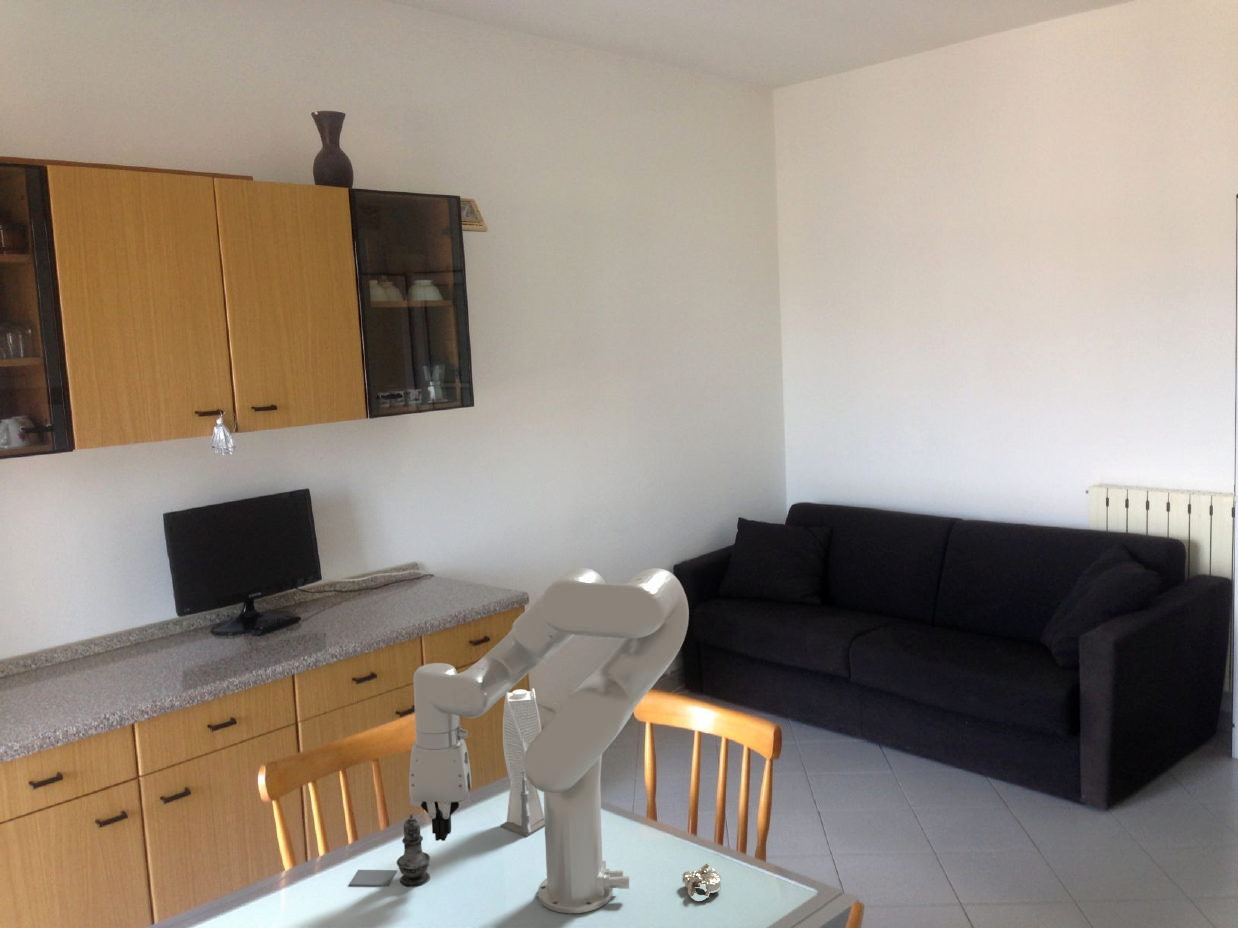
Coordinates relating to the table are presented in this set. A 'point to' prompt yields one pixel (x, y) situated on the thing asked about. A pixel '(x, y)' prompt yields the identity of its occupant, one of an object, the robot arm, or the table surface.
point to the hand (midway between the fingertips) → (442, 836)
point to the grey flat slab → (373, 878)
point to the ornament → (701, 880)
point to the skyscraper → (521, 762)
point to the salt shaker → (413, 856)
